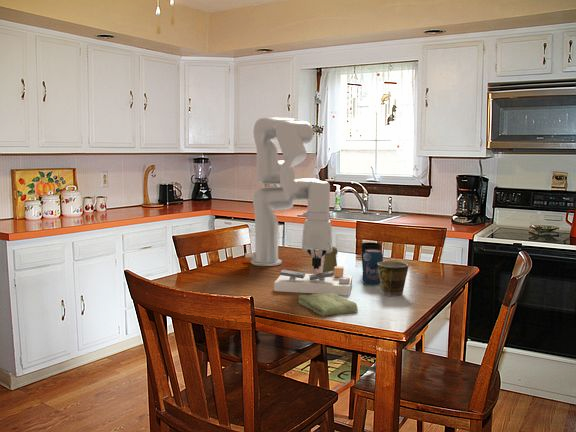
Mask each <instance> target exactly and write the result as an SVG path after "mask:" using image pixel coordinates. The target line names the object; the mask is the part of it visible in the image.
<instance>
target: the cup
mask: <svg viewBox="0 0 576 432" xmlns="http://www.w3.org/2000/svg"><path fill="white" fill-rule="evenodd" d="M360 249H361V253H360V254H361V265H362V266H361V267H362V269H363V254H364V252H365V250H366V249H378V250H381V251H382V243H379V242H361V244H360Z"/></svg>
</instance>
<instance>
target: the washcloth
mask: <svg viewBox="0 0 576 432" xmlns="http://www.w3.org/2000/svg"><path fill="white" fill-rule="evenodd" d="M298 304H299V305H301V306H303V307H305V308H306V309H308V308H309V309H308V310H310V309H311V310H310V311H312V310H313V311H312V312H314V313H316V314H318V315H320V316H323V317H326V316H336V315H337V316H338V315H340V314H350V313H351V314H352V313H356V312H358V310H359V309H358V305H357V302H356V301H352V300H348V298H345V297H344V296H341V295H337V294H333V293H328V294H323V293H321V294H319V293H310V294H309V295H306V294H300V295H299V296H298Z"/></svg>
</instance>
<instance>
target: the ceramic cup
mask: <svg viewBox="0 0 576 432" xmlns="http://www.w3.org/2000/svg"><path fill="white" fill-rule="evenodd" d="M408 270H409V264H408V263H406V262H403V261H397V260H396V261H395V260H385V261H384V260H383V262H379V263H378V273H379V277H380V285H379V286H380V291H381V294H383V296H386V297H387V296H388V297H399V296H401V295H403V293H404V288H405V284H406V279H407V275H408Z"/></svg>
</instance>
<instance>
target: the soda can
mask: <svg viewBox="0 0 576 432" xmlns="http://www.w3.org/2000/svg"><path fill="white" fill-rule="evenodd" d="M383 261H384V255H383V253H382V249H381V250H378V249H366V250H365V252H364V254H363V268H362V281H363V283H364V285H366V286H371V287H372V286H373V287H374V286H381V285H380V277H379V273H378V263H379V262H383Z"/></svg>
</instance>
